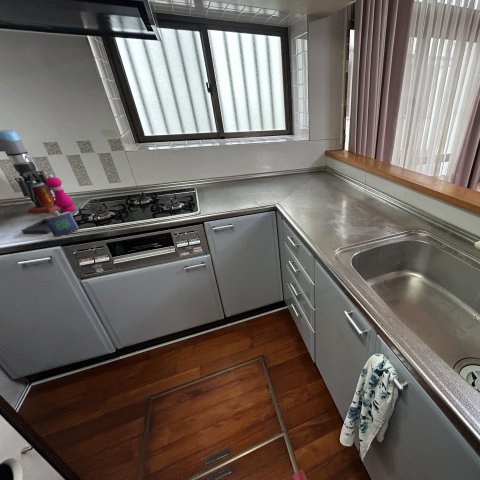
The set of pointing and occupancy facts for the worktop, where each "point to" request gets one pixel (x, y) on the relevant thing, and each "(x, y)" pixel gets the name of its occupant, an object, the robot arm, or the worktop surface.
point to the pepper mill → (60, 194)
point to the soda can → (42, 194)
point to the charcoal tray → (37, 228)
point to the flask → (61, 223)
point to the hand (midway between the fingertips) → (46, 204)
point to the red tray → (43, 209)
